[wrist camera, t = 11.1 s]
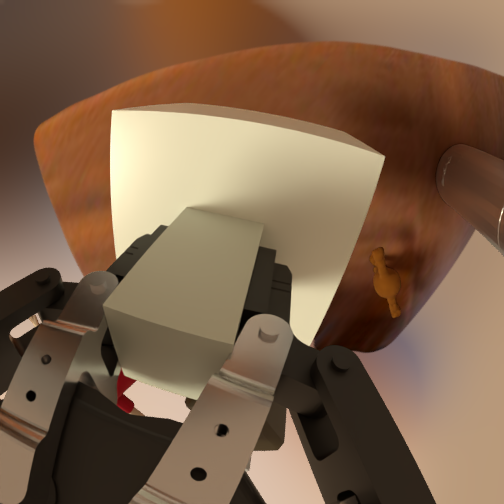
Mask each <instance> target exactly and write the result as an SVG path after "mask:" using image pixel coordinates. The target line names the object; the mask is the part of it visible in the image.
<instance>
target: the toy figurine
mask: <svg viewBox="0 0 504 504" xmlns="http://www.w3.org/2000/svg"><path fill="white" fill-rule="evenodd" d="M370 262H371V263H372V264H373V265H374V266H375V267H374V268H373V271H374V273H375V275H374V278H373V284H374V288H375V291H376V292H377V294H378V295H379V296H381V297H383V298H387V301H388V303H389V309H390V311H391V315H392V317H393V318H396V317H398V316H399V315H401V312H400V307H399V306H398V304H397V302H396V297H395V295H396V294H397V293H398V292H399V290H400V287H401V280H400V276H399V274H398V273H397V272H396V271H395V270H394V269H391V268H387V267H386V266H385V259H384V249H383V248H382V247H379V248H377V249H375V250H373V251H372V255H371V256H370Z"/></svg>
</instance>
